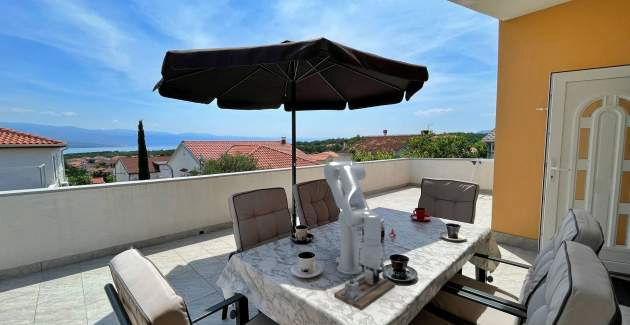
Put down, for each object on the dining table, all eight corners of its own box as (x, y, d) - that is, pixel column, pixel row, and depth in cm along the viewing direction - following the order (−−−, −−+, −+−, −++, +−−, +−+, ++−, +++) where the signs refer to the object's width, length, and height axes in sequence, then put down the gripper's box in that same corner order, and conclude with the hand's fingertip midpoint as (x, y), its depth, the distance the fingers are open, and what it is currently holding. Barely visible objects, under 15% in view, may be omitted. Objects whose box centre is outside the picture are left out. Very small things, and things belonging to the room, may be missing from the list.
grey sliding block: (364, 283, 125) (365, 267, 125) (371, 279, 129) (371, 263, 128) (372, 286, 122) (372, 269, 122) (378, 282, 126) (378, 266, 126)
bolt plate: (334, 296, 118) (334, 277, 118) (368, 276, 136) (369, 260, 136) (361, 310, 108) (361, 289, 108) (394, 286, 126) (395, 268, 126)
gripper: (352, 238, 128) (351, 277, 129) (384, 248, 116) (383, 290, 117) (361, 235, 133) (361, 272, 134) (393, 243, 121) (392, 284, 122)
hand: (371, 280), depth 125 cm, fingers closed on grey sliding block, 4 cm apart
